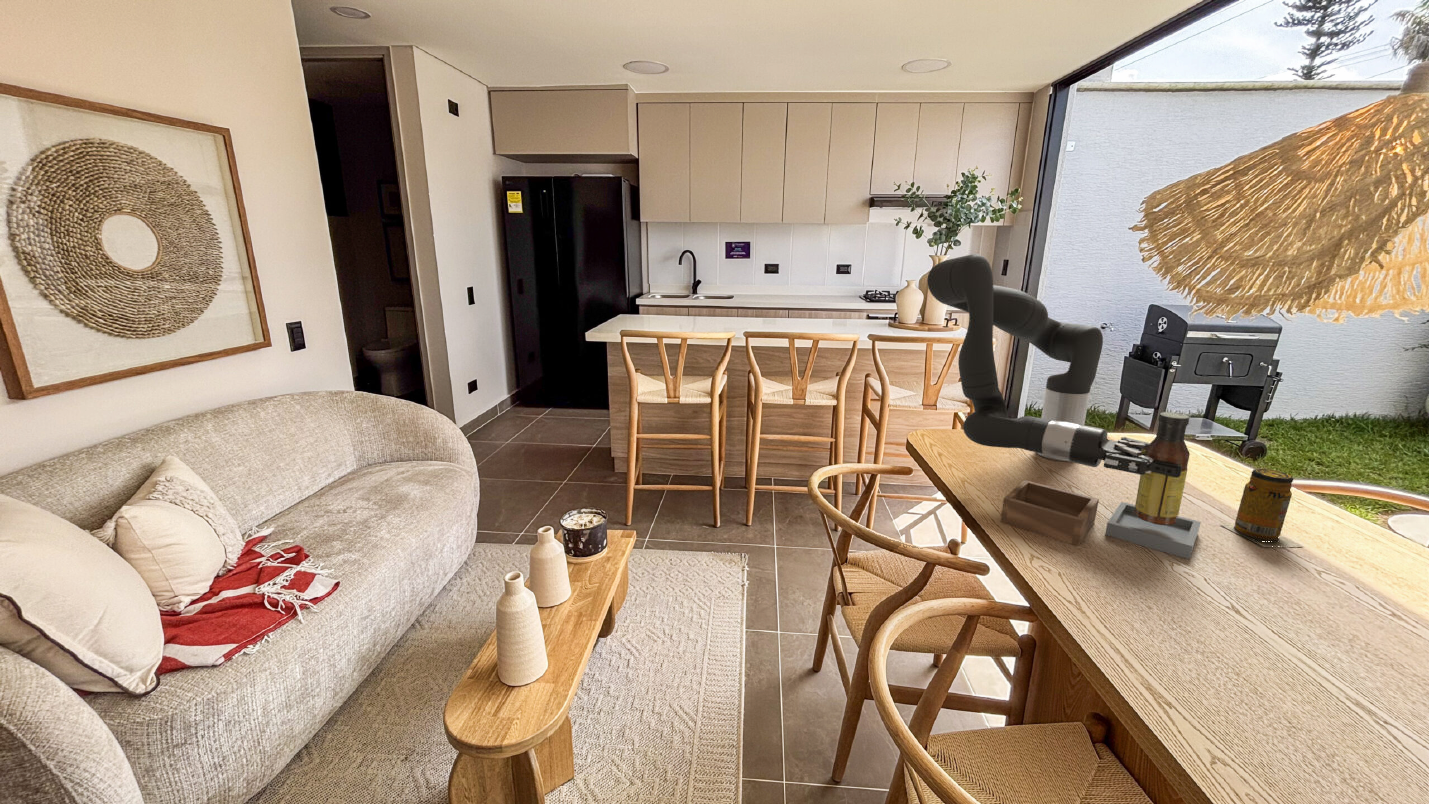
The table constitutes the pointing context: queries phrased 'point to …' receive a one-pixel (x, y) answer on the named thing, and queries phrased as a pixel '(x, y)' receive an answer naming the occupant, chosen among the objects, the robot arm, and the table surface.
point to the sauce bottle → (1161, 491)
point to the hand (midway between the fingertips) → (1183, 466)
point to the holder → (1050, 511)
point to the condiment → (1264, 508)
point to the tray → (1153, 532)
